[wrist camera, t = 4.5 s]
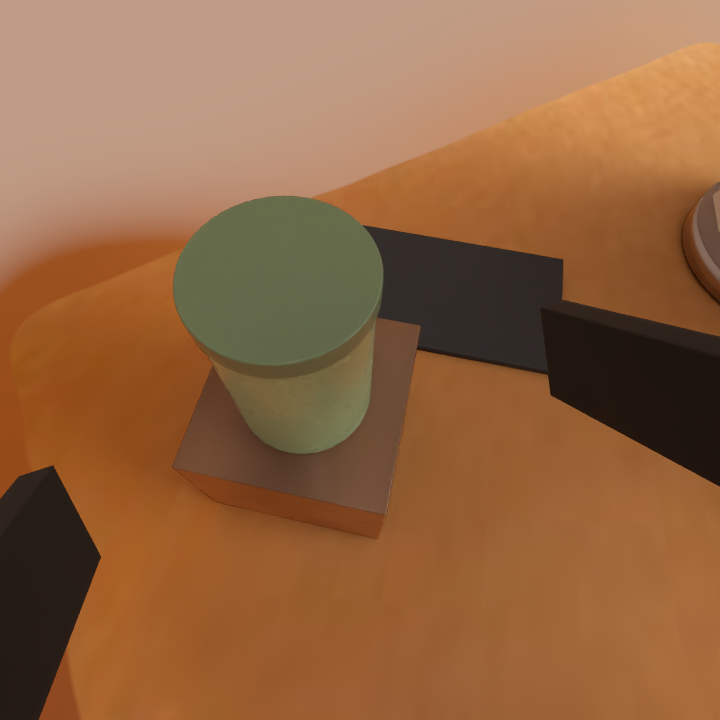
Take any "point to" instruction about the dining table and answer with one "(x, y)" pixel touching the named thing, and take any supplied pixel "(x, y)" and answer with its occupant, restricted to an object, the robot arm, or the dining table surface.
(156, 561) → the dining table surface
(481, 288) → the rubber mat
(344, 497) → the walnut block
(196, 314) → the green tin
